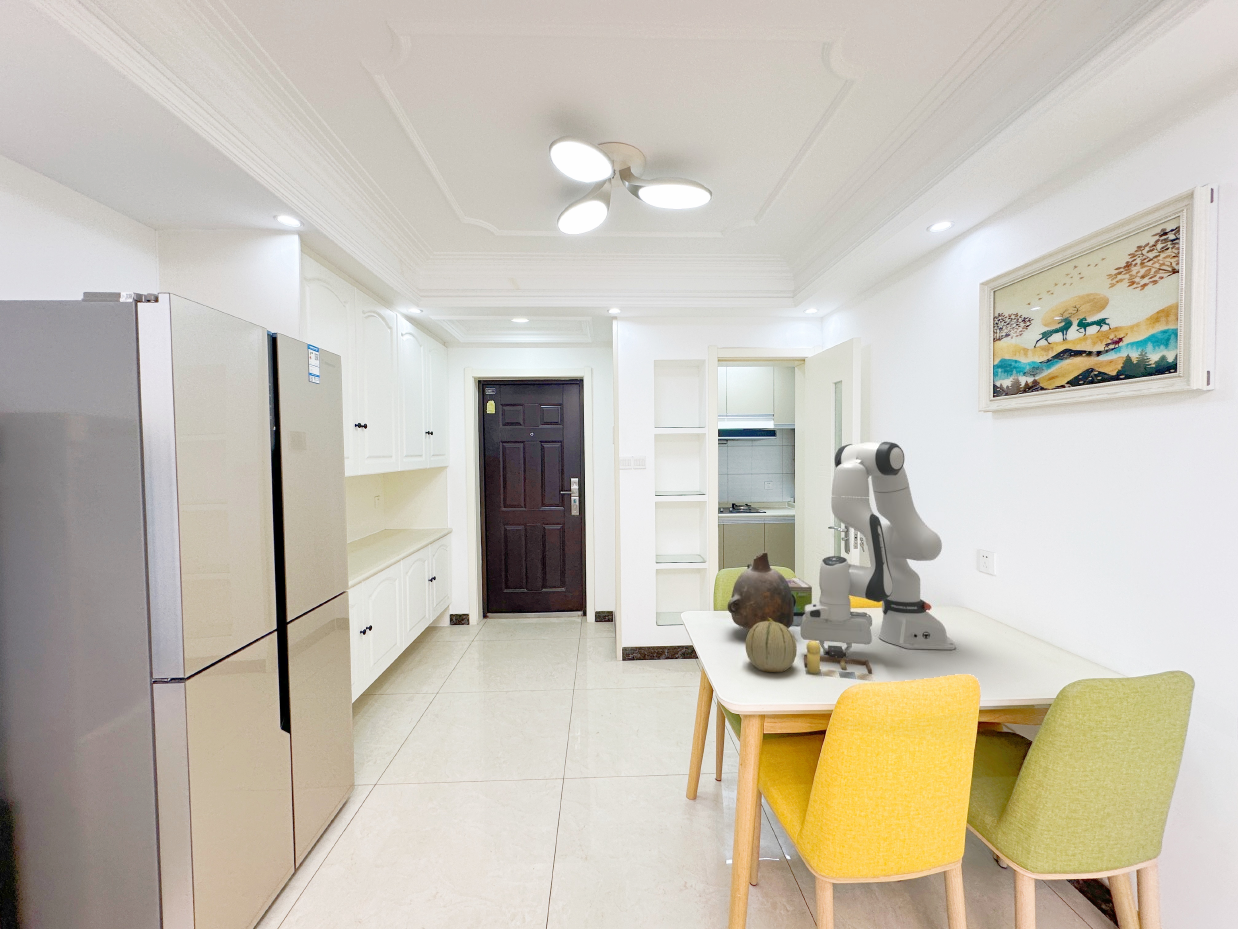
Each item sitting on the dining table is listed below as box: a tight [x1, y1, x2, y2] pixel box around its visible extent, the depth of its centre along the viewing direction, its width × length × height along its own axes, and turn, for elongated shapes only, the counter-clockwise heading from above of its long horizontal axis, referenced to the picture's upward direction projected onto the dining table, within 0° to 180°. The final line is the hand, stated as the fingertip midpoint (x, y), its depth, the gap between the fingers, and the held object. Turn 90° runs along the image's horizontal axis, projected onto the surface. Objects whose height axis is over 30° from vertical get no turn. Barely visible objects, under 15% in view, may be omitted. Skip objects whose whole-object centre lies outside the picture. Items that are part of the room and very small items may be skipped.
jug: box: [727, 551, 796, 631], centre depth 188 cm, size 24×21×30 cm
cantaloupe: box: [745, 618, 798, 673], centre depth 158 cm, size 15×15×15 cm
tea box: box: [784, 577, 813, 626], centre depth 207 cm, size 15×10×15 cm, turn 179°
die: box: [827, 644, 844, 658], centre depth 164 cm, size 4×4×4 cm
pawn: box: [806, 640, 822, 674], centre depth 154 cm, size 4×4×9 cm
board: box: [803, 654, 875, 682], centre depth 156 cm, size 18×12×2 cm, turn 73°
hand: (835, 655), depth 164 cm, fingers closed on die, 4 cm apart
